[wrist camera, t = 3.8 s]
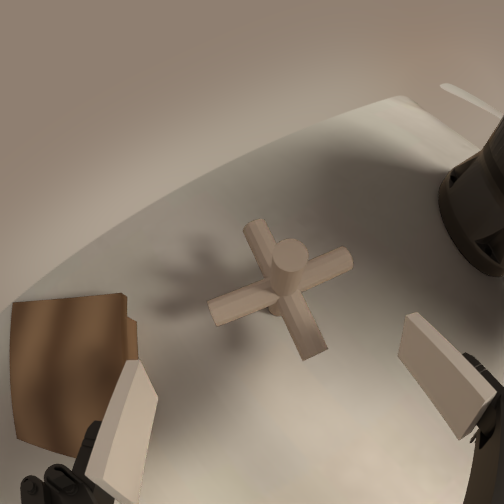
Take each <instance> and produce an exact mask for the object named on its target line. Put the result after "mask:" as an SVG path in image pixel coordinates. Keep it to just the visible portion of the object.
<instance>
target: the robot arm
mask: <svg viewBox="0 0 504 504" xmlns="http://www.w3.org/2000/svg"><path fill="white" fill-rule="evenodd" d="M439 207H440V211H441V215H442V218H443V221H444V223H445V226H446V228H447V230H448V232H449V234H450V236H451V238H452V240H453V241H454V243H455V244H456V246H457V247H458V249H459V250H460V251H461V253H462V254H463V255H464V256H465V258H466V259H467V260H468V261H469V262H470V263H471V264H472V265H473V266H475V267H476V268H477V269H478V270H480V271H481V272H483V273H485V274H487V275H490V276H494V277H500V276H504V116H503V118H502V119H501V121H500V123H499V124H498V126H497V127H496V129H495V130H494V132H493V133H492V135H491V137H490V138H489V140H488V141H487V143H486V145H485V146H484V147H483V149H482V150H481V151H479V152H478V153H476V154H475V155H473V156H472V157H470V158H468V159H467V160H465V161H464V162H462V163H461V164H459V165H457V166H456V167H454V168H453V169H452V170H451V171H450V172H449V173H448V175H447V176H446V178H445V179H444V180H443V182H442V184H441V186H440V189H439ZM398 357H399V359H400V360H401V361H402V362H403V364H404V365H405V366H406V368H407V369H408V370H409V372H410V373H411V374H412V376H413V377H414V378H415V380H416V381H417V382H418V384H419V385H420V386H421V388H422V389H423V390H424V392H425V393H426V395H427V396H428V397H429V399H430V400H431V401H432V403H433V404H434V406H435V407H436V408H437V410H438V411H439V413H440V414H441V415H442V417H443V418H444V420H445V421H446V423H447V424H448V425H449V427H450V428H451V430H452V431H453V433H454V434H455V436H456V437H457V439H458V440H460V439H462V438H464V437H465V436H467V435H468V434H470V433H471V432H472V430H473V429H474V427H475V426H476V425H477V426H478V428H479V429H478V430H477V432H476V433H475V434H474V436H473V437H472V438H471V441H470V443H472V442H473V441H474V439H475V438H476V441H475V450H474V457H473V463H472V468H471V473H470V478H469V482H468V487H467V491H466V495H465V498H464V502H463V504H504V387H503V386H502V385H501V384H500V383H499V382H498V381H497V380H496V379H495V378H494V377H493V375H492V374H491V373H490V372H489V371H488V370H486V368H485V367H484V366H483V365H481V363H480V362H479V361H478V360H477V359H476V358H475V357H473V356H472V355H470V354H468V353H466V352H465V353H463V354H461V353H460V352H459V351H458V350H457V349H456V348H455V347H454V346H453V345H452V344H451V343H450V342H449V341H447V340H446V339H445V338H444V337H443V336H442V335H441V334H440V333H439V332H438V331H437V330H436V329H435V328H434V327H433V326H432V325H431V324H430V323H429V322H428V321H427V320H425V319H424V318H423V317H422V316H421V315H420V314H419V313H418V312H415V313H412V314H408V315H406V316H405V322H404V328H403V333H402V338H401V343H400V348H399V352H398ZM157 402H158V396H157V394H156V392H155V390H154V388H153V386H152V384H151V382H150V380H149V377H148V375H147V373H146V371H145V369H144V367H143V364H142V362H141V360H126V363H125V365H124V368H123V370H122V372H121V375H120V377H119V380H118V382H117V385H116V387H115V390H114V392H113V395H112V397H111V400H110V402H109V405H108V408H107V410H106V413H105V416H104V418H103V421H97V420H94V421H93V422H92V424H91V425H90V426H89V427H88V428H87V431H86V433H85V436H84V439H83V441H82V444H81V447H80V449H79V452H78V455H77V458H76V461H75V463H74V466H73V469H72V471H71V470H70V469H68V468H67V467H66V466H64V465H62V464H54V465H52V466H50V467H48V469H47V470H46V471H45V474H44V482H43V481H41V480H40V479H39V478H37V477H36V476H32V475H30V476H27V477H25V478H24V479H23V480H22V482H21V487H20V490H21V503H22V504H114V499H116V500H117V501H119V502H120V503H121V504H138V503H139V497H140V490H141V484H142V478H143V472H144V467H145V461H146V456H147V450H148V445H149V440H150V435H151V430H152V425H153V421H154V416H155V411H156V407H157Z"/></svg>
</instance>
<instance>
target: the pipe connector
mask: <svg viewBox="0 0 504 504" xmlns="http://www.w3.org/2000/svg"><path fill="white" fill-rule="evenodd" d="M243 232H244V235H245V237H246V239H247V241H248V243H249V246H250V248H251V250H252V252H253V254H254V256H255V259H256V261H257V263H258V265H259V267H260V269H261V272H262V274H263V276H264V278H265V279H262V280H260V281H257V282H255V283H252V284H250V285H247V286H245V287H242V288H240V289H237V290H235V291H232V292H230V293H227V294H224V295H222V296H219V297H217V298H214V299H212V300H209V301H207V303H208V307H209V310H210V312H211V315H212V317H213V320H214V322H215V324H216V326H217V327H218V326H220V325H223V324H226V323H228V322H231V321H233V320H236V319H238V318H241V317H243V316H246V315H248V314H251V313H253V312H256V311H258V310H261V309H263V308H266V307H268V308H269V311H270V312H271V313H272V314H273V315H275V316H282V317H283V319H284V322H285V324H286V326H287V328H288V330H289V332H290V335H291V337H292V339H293V341H294V343H295V345H296V348H297V350H298V352H299V354H300V356H301V358H302V361H304V360H306V359H308V358H311V357H313V356H315V355H317V354H319V353H321V352H323V351H325V350H327V349H328V347H327V345H326V343H325V341H324V339H323V337H322V334H321V332H320V330H319V328H318V326H317V324H316V322H315V320H314V318H313V316H312V314H311V312H310V310H309V308H308V305H307V303H306V301H305V299H304V297H303V295H302V293H301V292H303V291H305V290H308V289H310V288H312V287H314V286H317V285H319V284H321V283H323V282H325V281H328V280H330V279H332V278H334V277H336V276H338V275H341V274H343V273H345V272H347V271H349V270H351V269H353V259H352V257H351V254H350V252H349V251H348V250H347V248H345V247H343V246H341V247H339V248H337V249H334V250H332V251H330V252H327V253H325V254H323V255H320V256H318V257H316V258H313V259H311V260H309V261H308V257H309V255H308V250H307V248H306V247H305V245H304V244H303V243H301V242H300V241H298V240H295V239H285V240H282V241H280V242H279V243H276V241H275V239H274V237H273V236H272V234H271V232H270V230H269V228H268V226H267V224H266V222H265V220H263V219H257V220H253V221H251V222H249V223H248V224H247V225H246V226H245V227H244V229H243Z"/></svg>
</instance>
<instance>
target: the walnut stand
mask: <svg viewBox="0 0 504 504" xmlns="http://www.w3.org/2000/svg"><path fill="white" fill-rule="evenodd" d="M126 360H138V346H137V322H136V321H134V320H132V319H130V318H128V317H127V297H126V296H125V295H124V294H122V293H115V294H106V295H96V296H85V297H75V298H64V299H52V300H40V301H27V302H14V303H13V305H12V316H11V330H10V385H11V398H12V408H13V416H14V423H15V430H16V435H17V439H19V440H22V441H24V442H27V443H30V444H32V445H35V446H38V447H41V448H44V449H46V450H50V451H53V452H56V453H59V454H62V455H66V456H70V457H73V458H77V455H78V452H79V449H80V447H81V444H82V441H83V439H84V436H85V433H86V431H87V428H88V427H89V426H90V425H91V424H92V422H93V421H94V420H97V421H103V418H104V416H105V413H106V410H107V408H108V405H109V402H110V400H111V397H112V395H113V392H114V390H115V387H116V385H117V382H118V380H119V377H120V375H121V372H122V370H123V368H124V365H125V363H126Z"/></svg>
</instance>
